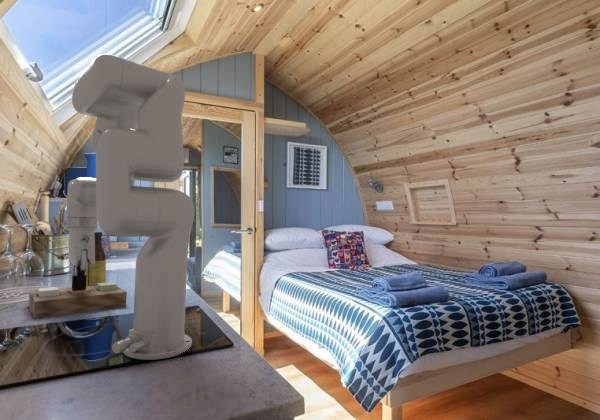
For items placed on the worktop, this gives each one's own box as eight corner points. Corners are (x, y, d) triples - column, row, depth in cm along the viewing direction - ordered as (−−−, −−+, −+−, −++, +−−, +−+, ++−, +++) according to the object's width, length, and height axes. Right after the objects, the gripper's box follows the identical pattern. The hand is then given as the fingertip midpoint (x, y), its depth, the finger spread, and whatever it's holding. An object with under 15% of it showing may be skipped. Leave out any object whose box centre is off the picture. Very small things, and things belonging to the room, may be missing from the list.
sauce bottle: (109, 291, 120) (112, 231, 120) (97, 295, 113) (99, 232, 114) (91, 290, 120) (93, 230, 121) (77, 294, 114) (80, 231, 114)
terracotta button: (85, 298, 103) (86, 287, 103) (88, 301, 100) (89, 290, 100) (68, 300, 100) (68, 289, 100) (71, 303, 97) (71, 292, 97)
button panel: (112, 296, 112) (113, 283, 112) (126, 306, 102) (126, 291, 102) (28, 306, 98) (29, 291, 98) (34, 318, 88) (35, 301, 88)
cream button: (56, 297, 98) (56, 286, 98) (58, 300, 95) (59, 289, 95) (37, 299, 96) (38, 288, 96) (39, 302, 93) (40, 291, 93)
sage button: (112, 292, 108) (112, 282, 108) (116, 294, 105) (116, 284, 105) (96, 293, 105) (97, 283, 105) (100, 296, 102) (100, 285, 102)
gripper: (103, 225, 97) (100, 293, 97) (91, 223, 109) (88, 284, 108) (71, 225, 92) (67, 296, 92) (61, 222, 104) (58, 286, 103)
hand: (78, 289), depth 100 cm, fingers closed
